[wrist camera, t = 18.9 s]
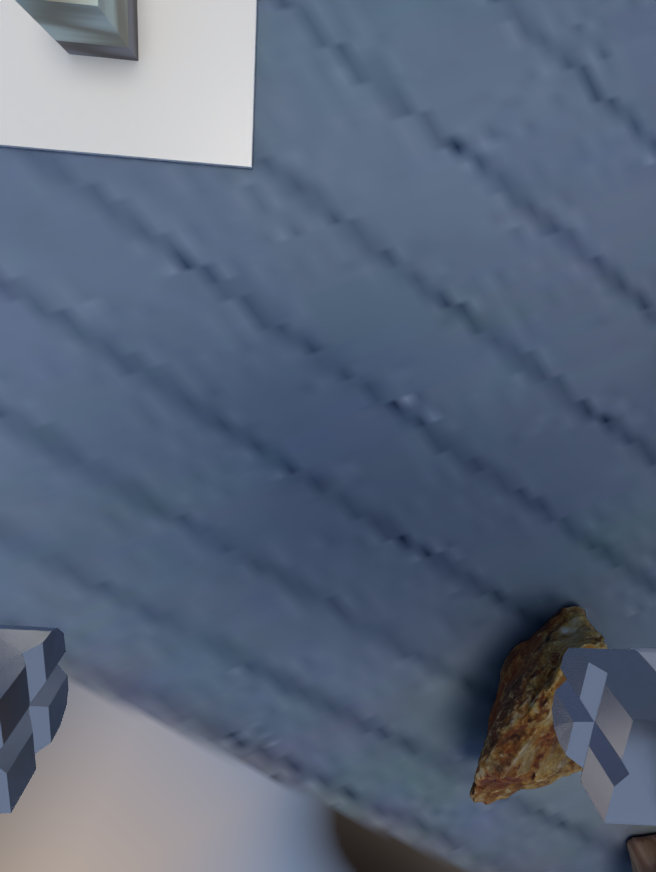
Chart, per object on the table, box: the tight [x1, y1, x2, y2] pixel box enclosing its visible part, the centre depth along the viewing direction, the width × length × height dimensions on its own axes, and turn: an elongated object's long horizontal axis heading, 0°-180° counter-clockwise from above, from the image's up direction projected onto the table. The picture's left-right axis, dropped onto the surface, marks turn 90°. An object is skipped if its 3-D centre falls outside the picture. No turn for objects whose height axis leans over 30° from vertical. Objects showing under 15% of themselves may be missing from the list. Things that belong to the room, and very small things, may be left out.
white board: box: [0, 0, 257, 169], centre depth 34 cm, size 20×16×1 cm
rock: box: [470, 606, 609, 805], centre depth 45 cm, size 20×15×10 cm
